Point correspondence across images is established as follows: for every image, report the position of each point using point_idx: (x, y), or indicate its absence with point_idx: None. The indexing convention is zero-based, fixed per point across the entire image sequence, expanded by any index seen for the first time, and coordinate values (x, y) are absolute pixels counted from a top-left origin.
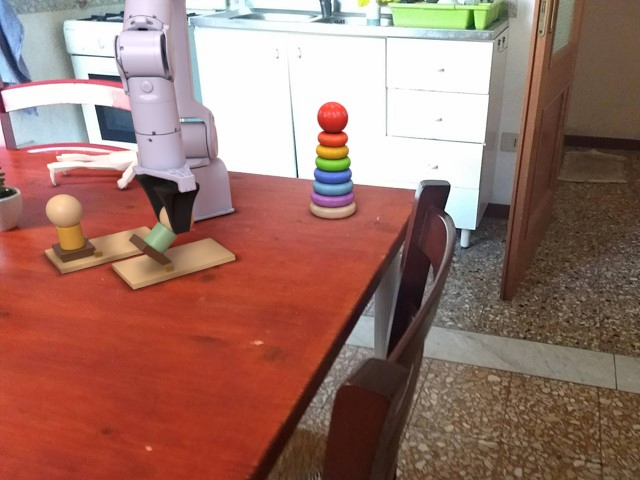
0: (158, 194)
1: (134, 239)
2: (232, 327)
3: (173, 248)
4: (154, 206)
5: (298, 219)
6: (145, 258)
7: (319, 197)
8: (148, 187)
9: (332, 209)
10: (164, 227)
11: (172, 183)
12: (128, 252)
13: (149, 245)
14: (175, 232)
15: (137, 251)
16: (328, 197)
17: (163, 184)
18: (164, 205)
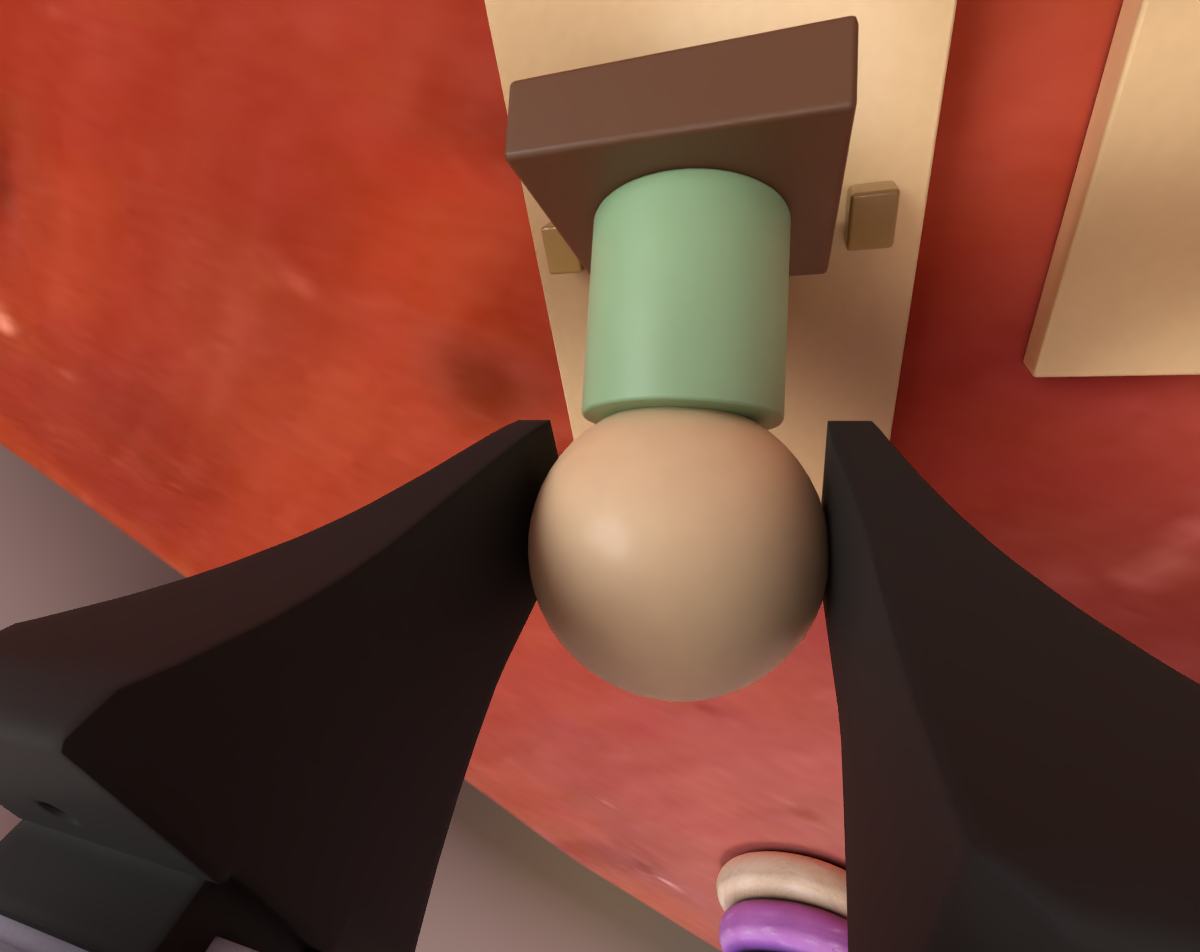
0: (115, 642)
1: (749, 77)
2: (81, 292)
3: (880, 377)
4: (854, 506)
5: (825, 821)
6: (859, 151)
7: (779, 938)
8: (907, 729)
9: (736, 891)
10: (594, 398)
11: (6, 908)
12: (1130, 38)
13: (586, 190)
14: (505, 428)
15: (1095, 132)
16: (748, 943)
17: (868, 870)
18: (344, 555)
